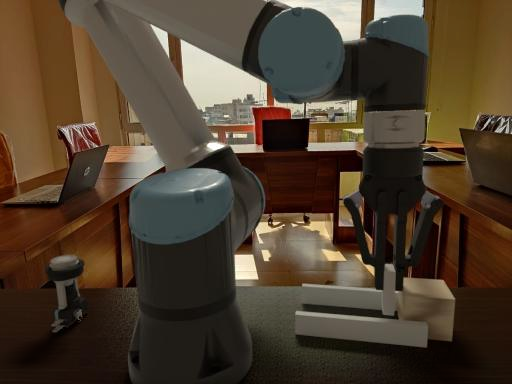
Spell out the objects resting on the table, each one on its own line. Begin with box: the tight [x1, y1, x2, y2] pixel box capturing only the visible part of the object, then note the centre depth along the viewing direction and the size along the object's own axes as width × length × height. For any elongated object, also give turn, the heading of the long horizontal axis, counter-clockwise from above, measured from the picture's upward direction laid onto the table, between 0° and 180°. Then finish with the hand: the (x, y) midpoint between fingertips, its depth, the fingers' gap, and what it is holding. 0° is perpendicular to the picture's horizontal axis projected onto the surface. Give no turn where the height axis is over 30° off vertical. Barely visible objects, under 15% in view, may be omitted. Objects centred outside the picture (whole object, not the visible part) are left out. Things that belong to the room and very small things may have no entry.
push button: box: [44, 254, 89, 333], centre depth 56 cm, size 7×5×10 cm
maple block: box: [396, 277, 456, 342], centre depth 52 cm, size 6×6×6 cm
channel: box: [294, 283, 428, 348], centre depth 55 cm, size 17×10×3 cm, turn 77°
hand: (387, 310), depth 54 cm, fingers closed
